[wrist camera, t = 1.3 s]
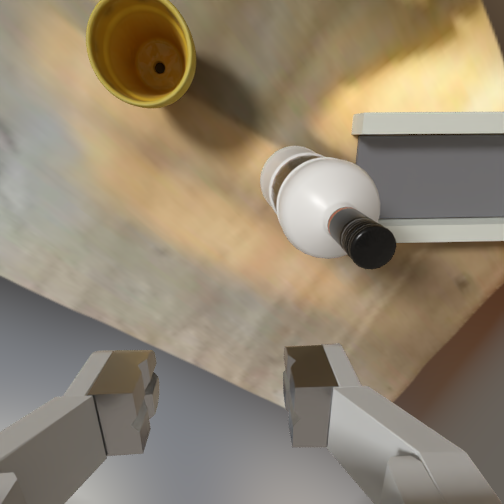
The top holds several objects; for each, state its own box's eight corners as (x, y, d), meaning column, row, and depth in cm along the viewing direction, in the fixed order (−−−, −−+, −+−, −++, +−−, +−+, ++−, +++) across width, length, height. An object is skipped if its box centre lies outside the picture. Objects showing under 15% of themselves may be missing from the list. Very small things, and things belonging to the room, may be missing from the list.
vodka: (277, 133, 44) (347, 130, 15) (336, 163, 45) (495, 209, 17) (249, 195, 46) (263, 288, 18) (304, 221, 48) (398, 343, 20)
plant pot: (169, 130, 43) (149, 129, 34) (103, 70, 40) (63, 51, 31) (219, 66, 41) (214, 46, 31) (154, -2, 38) (126, -46, 29)
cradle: (353, 114, 43) (367, 112, 38) (572, 113, 44) (612, 110, 39) (342, 235, 49) (353, 246, 44) (535, 231, 50) (566, 241, 45)
